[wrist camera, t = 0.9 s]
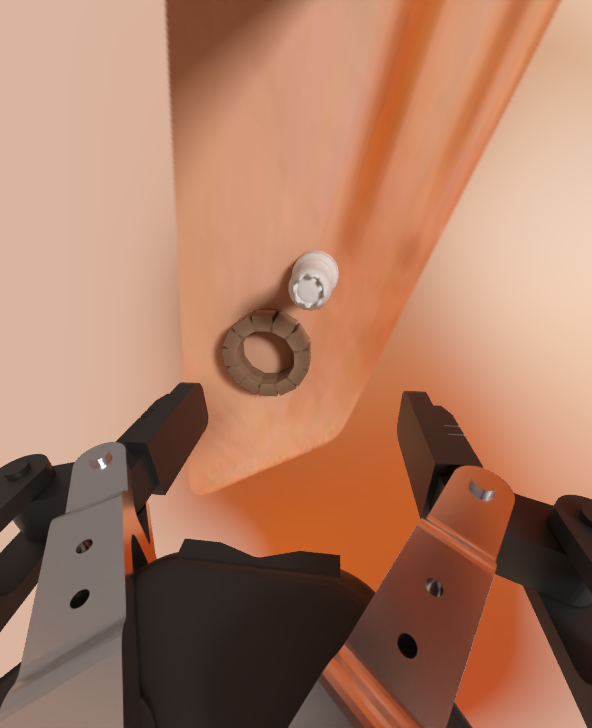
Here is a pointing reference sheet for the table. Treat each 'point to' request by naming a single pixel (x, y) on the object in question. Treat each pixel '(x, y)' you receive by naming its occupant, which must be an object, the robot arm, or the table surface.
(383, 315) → the table surface
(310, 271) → the rook chess piece
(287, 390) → the walnut ring bead
